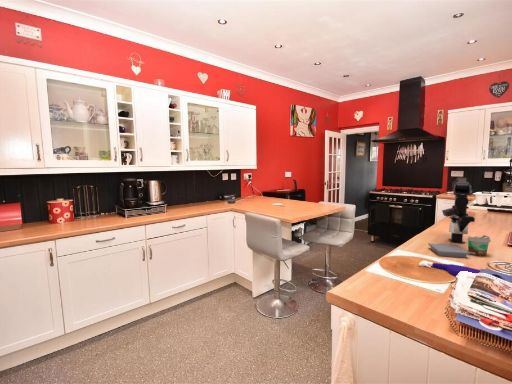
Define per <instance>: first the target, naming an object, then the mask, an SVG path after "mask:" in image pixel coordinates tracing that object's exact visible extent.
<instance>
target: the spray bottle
mask: <svg viewBox="0 0 512 384" xmlns="http://www.w3.org/2000/svg"><path fill="white" fill-rule="evenodd" d="M418 266H419V267H428V268H430V269H431V268H433V267H434V269H438V270H442V269H443V271H446V272H447V271H448V272H449V274H450V275H451V274H452V275H451V276H453V275H455V276H454V277H456V275H457V274H458V273H459V272H460V271H468V272H472V273H479V272H480V270H481V269H477V268H472V267H469V266H464V265H458V264H453V263H448V264H447V263H440V262H439V263H437V262H431V261H427V260H425V259H424V260H422V261H420V262H419V263H418ZM431 266H432V267H431Z"/></svg>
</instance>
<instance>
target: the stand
mask: <svg viewBox="0 0 512 384" xmlns="http://www.w3.org/2000/svg"><path fill="white" fill-rule="evenodd" d="M428 246H429V247H430V250H432V251H433V252H434V253H435V254H437V255H438V256H439V257H451V258H461V259H462V258H463V259H464V258H465V259H466V258H467V256H471V255H470V253H469V252H468V250H465V249H463V248H461V247H460V246H458V245H457V244H447V243H446V244H445V243H430V242H428Z"/></svg>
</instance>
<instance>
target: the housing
mask: <svg viewBox="0 0 512 384" xmlns="http://www.w3.org/2000/svg"><path fill="white" fill-rule="evenodd" d="M469 224H470V223H469ZM469 224H468V225H467V226H466V227H465V229H464V230H463V231H462V232H460V230H459V222H458V221H457V220H456V222H451V221H449V226H450V230H448V232H449V231H450V233H451V234H452V233H455V234H463V235H468V233H469Z"/></svg>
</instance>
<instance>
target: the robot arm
mask: <svg viewBox="0 0 512 384" xmlns="http://www.w3.org/2000/svg"><path fill="white" fill-rule="evenodd" d="M452 191H453V194H452V195H453V196H454V205H451V207H450V208H447V209H443V210H441V212H442V214H443V216H444V217H446V218H448V217H449V219H451V220H450V222H456V220H457V221H458V222H459V230H460V232H462V231H463V230H464V229H465V227H466V226H467V225H468V224H470V223H475V222H476V218H475V217H474V216H471V215H469V214H468V213H467V210H468V209H469V206H468V204H469V199H468V196H471V195H472V194H473V187H472V185H471V184H470V182H469V181H468V178H467V177H461V176H460V177H456V179H455V180H453V181H452ZM468 226H469V225H468ZM448 229H449V230H450V225H449V227H448ZM449 230H448V232H450V231H449ZM450 233H451V234H450V235H451V236H450V238H448V241H450V242H452V243H454V244H457V243H459V244H465V243H466V242H465V241H464V240H463V235H464V234H455V233H452V232H450Z"/></svg>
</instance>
